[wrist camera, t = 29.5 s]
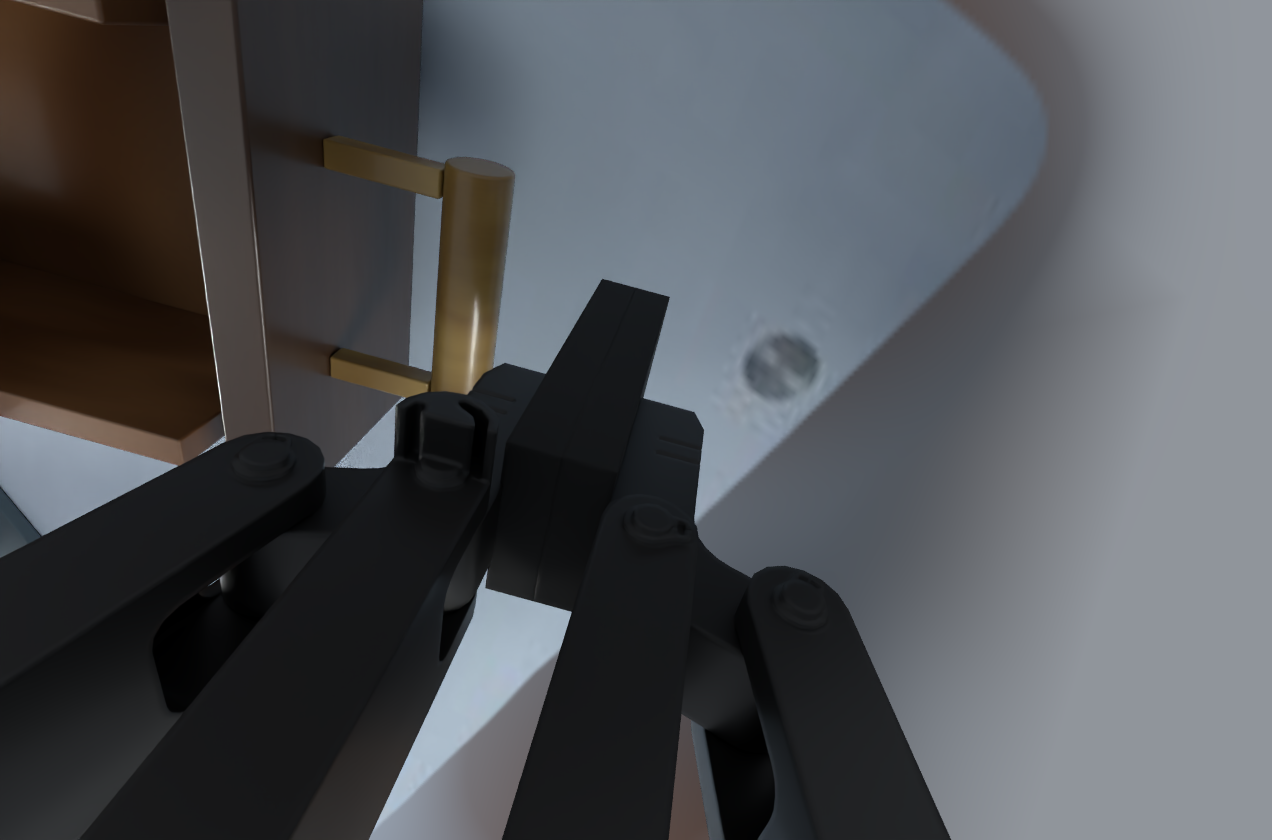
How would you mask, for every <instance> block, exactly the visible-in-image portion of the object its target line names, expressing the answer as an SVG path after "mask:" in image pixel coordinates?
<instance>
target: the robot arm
mask: <svg viewBox="0 0 1272 840" xmlns="http://www.w3.org/2000/svg"><path fill="white" fill-rule="evenodd" d="M669 298H670V297H668V296H664V295H661V294H657V293H653V292H649V291H646V290H642V289H638V288H634V287H631V286H627V285H623V284H620V283H616V282H612V281H608V280H605V279H602V280H601V282H600V284H599V285H598V287H597V289H596V290H595V292H594V294H593V295H592V297H591V299H590V300H589V302H588V304H587V306H586V307H585V309H584V311H583V312H582V314H581V316H580V317H579V319H578V321H577V322H576V324H575V326H574V328H573V329H572V331H571V333H570V334H569V336H568V338H567V339H566V341H565V343H564V344H563V346H562V348H561V350H560V351H559V353H558V355H557V356H556V358H555V360H554V361H553V363H552V365H551V367H550V368H549V370H548V372H547V373H546V374H544V373H540V372H536V371H532V370H529V369H525V368H521V367H518V366H514V365H510V364H507V363H504V364H502V365H500V366H498V367H495V368H493V369H491V370H489V371H487V372H485V373H483V375H482V376H481V377H480V379H479V380H478V381H477V382H476V384H475V385H474V386H473V388H472V391H471V390H470V392H469V393H468V394H467V395H466V394H461V393H454V392H448V391H437V392H424V393H420V394H417V395H413V396H410V397H407V398H406V399H404V400H403V401H401V402H400V403H398V404H397V405H396V413H395V445H394V458H393V459H392V461H391V462H390V463H389V464H388V465H387V467H383V468H368V469H359V468H338V467H325V459H324V456H323V454H322V451H321V449H320V447H318V446H317V445H316V444H314V443H313V442H311V441H310V440H309V439H307V438H304V437H301V436H297V435H294V434H291V433H281V432H262V433H255V434H248V435H243V436H240V437H238V438H235V439H232V440H229V441H227V442H224V443H222V444H220V445H218V446H216V447H214V448H213V449H211V450H209V451H207V452H205V453H203V454H201V455H199V456H197V457H195V458H193V459H191V460H189V461H187V462H185V463H183V464H181V465H180V466H178V467H176V468H174V469H172V470H170V471H168V472H166V473H164V474H162V475H160V476H158V477H156V478H154V479H152V480H150V481H149V482H147V483H145V484H143V485H141V486H139V487H137V488H135V489H133V490H131V491H129V492H127V493H125V494H123V495H121V496H119V497H117V498H116V499H114V500H112V501H110V502H108V503H106V504H104V505H102V506H100V507H98V508H96V509H94V510H92V511H90V512H88V513H86V514H85V515H83V516H81V517H79V518H77V519H75V520H73V521H71V522H69V523H67V524H65V525H63V526H61V527H59V528H57V529H55V530H54V531H52V532H50V533H48V534H46V535H44V536H42V537H40V538H38V539H36V540H34V541H32V542H30V543H28V544H26V545H24V546H22V547H21V548H19V549H17V550H15V551H13V552H11V553H9V554H7V555H5V556H3V557H1V558H0V840H369V838H370V835H371V833H372V831H373V829H374V827H375V825H376V823H377V821H378V818H379V816H380V814H381V812H382V810H383V808H384V806H385V803H386V801H387V799H388V797H389V795H390V793H391V791H392V788H393V786H394V784H395V782H396V780H397V778H398V776H399V773H400V771H401V769H402V767H403V765H404V763H405V761H406V758H407V756H408V754H409V752H410V750H411V748H412V746H413V743H414V741H415V739H416V737H417V735H418V733H419V731H420V728H421V726H422V724H423V722H424V720H425V718H426V716H427V713H428V711H429V709H430V707H431V705H432V703H433V701H434V699H435V696H436V694H437V692H438V690H439V688H440V686H441V684H442V681H443V679H444V677H445V675H446V673H447V671H448V669H449V666H450V664H451V662H452V660H453V658H454V656H455V654H456V651H457V649H458V647H459V645H460V643H461V641H462V639H463V636H464V634H465V632H466V630H467V628H468V626H469V624H470V621H471V619H472V617H473V613H474V608H475V603H476V595H477V589H478V587H479V585H480V583H481V581H482V579H483V577H484V575H485V573H486V571H487V569H488V572H487V579H486V587H485V588H487V589H491V590H494V591H498V592H502V593H505V594H509V595H513V596H516V597H520V598H524V599H527V600H531V601H535V602H538V603H542V604H545V605H549V606H553V607H556V608H560V609H564V610H567V611H571V612H572V613H571V617H570V620H569V623H568V626H567V630H566V633H565V636H564V639H563V643H562V646H561V649H560V652H559V656H558V659H557V662H556V665H555V669H554V672H553V675H552V678H551V682H550V685H549V688H548V691H547V695H546V698H545V701H544V705H543V708H542V711H541V714H540V717H539V721H538V724H537V728H536V730H535V734H534V737H533V740H532V743H531V747H530V750H529V753H528V756H527V760H526V763H525V766H524V770H523V773H522V776H521V779H520V782H519V786H518V789H517V792H516V795H515V799H514V802H513V805H512V808H511V811H510V815H509V818H508V821H507V825H506V828H505V831H504V835H503V838H502V840H668V839H669V829H670V820H671V810H672V800H673V790H674V780H675V770H676V761H677V751H678V741H679V731H680V722H681V714H683V715H684V716H686V717H688V718H689V719H691V731H692V737H693V743H694V749H695V755H696V761H697V767H698V773H699V779H700V785H701V791H702V798H703V804H704V810H705V816H706V822H707V828H708V834H709V840H951V839H950V836H949V834H948V832H947V829H946V827H945V825H944V823H943V821H942V818H941V816H940V814H939V812H938V809H937V807H936V805H935V803H934V800H933V798H932V796H931V794H930V791H929V789H928V787H927V785H926V783H925V780H924V778H923V776H922V773H921V771H920V769H919V767H918V765H917V762H916V760H915V758H914V756H913V753H912V751H911V749H910V747H909V744H908V742H907V740H906V738H905V735H904V733H903V731H902V729H901V727H900V724H899V722H898V720H897V718H896V715H895V713H894V711H893V709H892V706H891V704H890V702H889V700H888V697H887V695H886V693H885V691H884V688H883V686H882V684H881V682H880V679H879V677H878V675H877V673H876V670H875V668H874V666H873V664H872V662H871V659H870V657H869V655H868V653H867V650H866V648H865V646H864V644H863V641H862V639H861V637H860V635H859V632H858V630H857V628H856V626H855V624H854V621H853V619H852V617H851V614H850V612H849V610H848V608H847V607H846V606H845V604H844V602H843V601H842V599H841V598H840V597H839V595H838V594H837V593H836V592H835V591H834V590H833V589H832V588H830V587H829V586H828V585H827V584H826V583H825V582H823V581H822V580H821V579H819V578H817V577H815V576H813V575H811V574H809V573H807V572H805V571H803V570H799V569H795V568H791V567H787V566H775V567H766V568H764V569H763V570H760V571H759V572H757V573H755V574H754V575H753V577H752V578H750V577H748V576H747V575H744V574H743V573H741V572H739V571H737V570H735V569H733V568H732V567H730V566H728V565H727V564H725V563H724V562H722V561H720V560H719V559H718V558H716V557H715V556H714V555H713V554H712V553H711V552H710V551H709V550H708V549H707V548H706V547H705V546H704V544H703V543H702V542H701V540H700V539H699V537H698V531H697V526H696V525H695V523H694V515H695V506H696V497H697V488H698V479H699V470H700V461H701V452H702V451H701V449H702V443H703V434H704V429H703V427H702V426H701V424H700V422H699V420H698V418H697V416H696V414H695V412H692V411H688V410H684V409H681V408H677V407H673V406H670V405H666V404H662V403H659V402H655V401H651V400H647V399H644V398H643V396H644V393H645V389H646V385H647V381H648V377H649V374H650V370H651V366H652V362H653V359H654V355H655V351H656V347H657V344H658V340H659V336H660V332H661V328H662V325H663V321H664V317H665V313H666V310H667V306H668V302H669ZM219 578H220V579H219ZM217 579H218V580H217ZM216 580H217V581H216ZM214 581H215V582H214ZM213 582H214V583H213ZM211 583H213V584H211ZM210 584H211V585H210Z"/></svg>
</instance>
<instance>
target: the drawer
mask: <svg viewBox="0 0 1272 840" xmlns="http://www.w3.org/2000/svg"><path fill="white" fill-rule="evenodd" d="M422 22H423V0H0V416H2V417H6V418H10V419H13V420H17V421H20V422H24V423H28V424H31V425H35V426H38V427H42V428H46V429H49V430H53V431H56V432H60V433H63V434H67V435H71V436H74V437H78V438H81V439H85V440H89V441H92V442H96V443H99V444H103V445H107V446H110V447H114V448H117V449H121V450H124V451H128V452H132V453H135V454H139V455H142V456H146V457H150V458H153V459H157V460H160V461H164V462H168V463H171V464H175V465H178V466H180V465H181V464H183V463H185V462H187V461H189V460H191V459H193V458H195V457H197V456H198V455H200V454H201V453H202V452H204V451H205V450H206V449H208V448H209V447H210V446H212V445H213V444H214V443H216V442H217V441H218V440H220V439H221V438H222V437H224V436H225V441H226V442H227V441H229V440H232V439H235V438H238V437H240V436H243V435H248V434H255V433H262V432H281V433H291V434H294V435H297V436H301V437H304V438H307V439H309V440H310V441H311V442H313V443H314V444H316V445H317V446H318V447H320V449H321V451H322V454H323V456H324V459H325V467H335V466H336V465H337V464H338V463H339V462H340V460H341V459H342V458H343V457H344V456H345V455H346V454H347V453H348V452H349V451H350V450H351V449H352V448H353V447H354V446H355V445H356V444H357V443H358V442H359V441H360V440H361V439H362V438H363V437H364V436H365V435H366V434H367V433H368V432H369V431H370V430H371V429H372V427H373V426H374V425H375V424H376V423H377V422H378V421H379V420H380V419H381V418H382V417H383V416H384V415H385V414H386V413H387V412H388V411H389V410H390V409H391V408H392V407H393V406H394V405H395V404H396V403H397V402H398V401H399V400H400V399H401V398H402V397H405V398H407V397H410V396H413V395H417V394H420V393H424V392H437V391H448V392H454V393H461V394H466V395H467V394H468V393H469V392H470V390H471V391H472V388H473V386H474V385H475V384H476V382H477V381H478V380H479V379H480V377H481V376H482V375H483V373H485V372H487V371H489V370H491V369H493V364H494V355H495V347H496V338H497V330H498V321H499V313H500V304H501V296H502V287H503V279H504V270H505V262H506V254H507V245H508V237H509V228H510V220H511V211H512V203H513V194H514V186H515V173H514V171H513V170H511V169H510V168H508V167H506V166H504V165H502V164H499V163H496V162H492V161H489V160H484V159H479V158H471V157H455V158H450V159H447V160H446V162H445V164H444V163H440V162H436V161H433V160H429V159H425V158H421V157H418V156H417V145H418V121H419V96H420V71H421V46H422ZM416 193H418V194H422V195H425V196H429V197H433V198H436V199H440V198H442V197H443V200H442V216H441V233H440V249H439V265H438V281H437V297H436V313H435V329H434V345H433V362H432V372H430V371H426V370H423V369H419V368H415V367H412V366H409V344H410V319H411V294H412V269H413V245H414V220H415V195H416Z"/></svg>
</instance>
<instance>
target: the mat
mask: <svg viewBox="0 0 1272 840" xmlns="http://www.w3.org/2000/svg"><path fill="white" fill-rule="evenodd" d="M40 537H41V536H40V535H39V534H38V532H37V531H36V530H35V529H34V528H33V526H32V525H31V524H30V523H29V522H28V520H27V519H26V518H25V517H24V516H23V514H22V513H21V512H20V511H19V510H18V508H17V507H16V506H15V505H14V504H13V502H12V501H11V500H10V499H9V498H8V496H7V495H6V494H5V493H4V492H3V490H2V489H1V488H0V558H1V557H3V556H5V555H7V554H9V553H11V552H13V551H15V550H17V549H19V548H21V547H22V546H24V545H26V544H28V543H30V542H32V541H34V540H36V539H38V538H40Z"/></svg>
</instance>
